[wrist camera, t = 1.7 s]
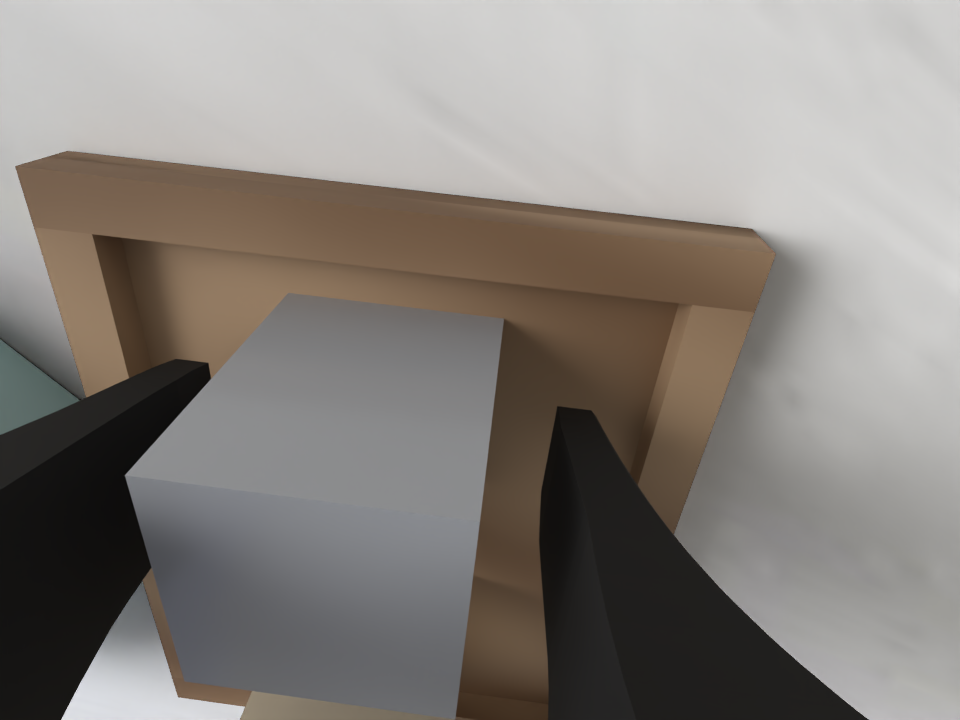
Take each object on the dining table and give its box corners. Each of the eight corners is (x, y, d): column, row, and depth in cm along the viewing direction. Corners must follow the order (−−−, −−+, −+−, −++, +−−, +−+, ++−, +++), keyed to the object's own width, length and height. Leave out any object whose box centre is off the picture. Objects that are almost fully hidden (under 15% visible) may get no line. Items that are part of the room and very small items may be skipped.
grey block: (483, 482, 13) (455, 719, 9) (302, 459, 13) (184, 681, 9) (504, 318, 11) (480, 522, 6) (288, 292, 11) (124, 475, 7)
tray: (589, 712, 18) (592, 755, 17) (198, 658, 18) (178, 696, 17) (752, 228, 10) (775, 253, 9) (66, 150, 10) (15, 166, 9)
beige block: (460, 671, 16) (432, 904, 12) (318, 651, 17) (240, 876, 12) (472, 575, 14) (443, 815, 10) (310, 553, 14) (213, 781, 10)
